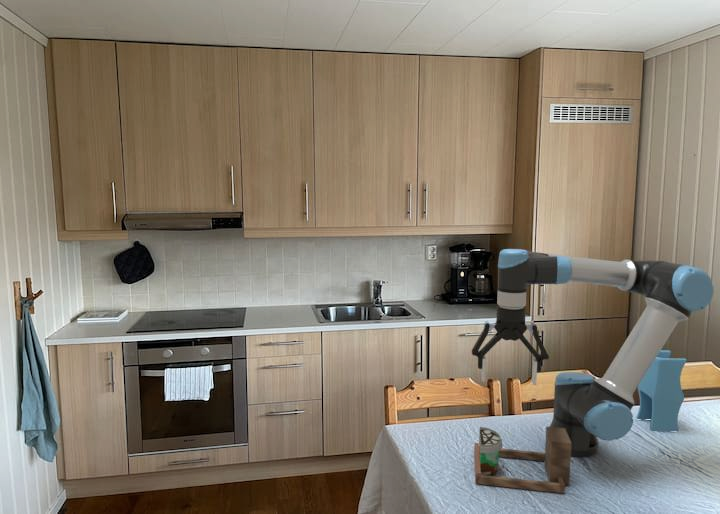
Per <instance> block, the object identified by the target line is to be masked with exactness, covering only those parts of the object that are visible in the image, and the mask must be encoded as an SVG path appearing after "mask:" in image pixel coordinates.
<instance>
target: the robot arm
mask: <svg viewBox="0 0 720 514" xmlns="http://www.w3.org/2000/svg"><path fill="white" fill-rule="evenodd" d="M569 282H570V283H571V282H573V283H581V284H587V285H589V284H590V285H599V286H605V287H607V286H608V287H616V288H617V289H619V291H623V292H629V293H634V294H637V295H641V296H644V301H645V304H646V307H645V309H644V311H643V312H642V314H641V315H640V316H639V318H638V320H637V321H636V323H635V325H634V326H633V328H632V330H631V332H630V333H629V335H628V336H627V338H626V339H625V341H624V343H623V344H622V346H621V347H620V349H619V350H618V352H617V353H616V355H615V357H614V358H613V360H612V361H611V363H610V365H609V367H608V368H607V369H606V372H605V373H604V374H603V376H602V377H600V378H597V377H595V376H594V375H592V374H590V373H587V372H585V373H584V372H576V371H567V372H566V371H565V372H560V373H558V374H557V375H556V376H555V381H554V394H553V395H554V399H553V417H552V419H551V422H550V425H549V427H556V428H565V429H566V432H567V434H568V436H569V438H570V441H571V443H572V446H571V457H577V458H586V457H592V456H594V455H596V454H598V452H599V440H598V439H600V440H603V441H606V442H607V441H608V442H610V441H611V442H612V441H614V440H615V441H616V440H619V439H621V438H623V437H625V436H626V435H627V434H629V432H630V430H631V429H632V427H633V424H634V419H633V416H634V415H633V413H632V411H631V410H632V408H633V407H634V405H635V399H634V397H633V396H634V393H635V392H636V390H638V386H639V384H640V382H641V381H642V379H643V378H644V376H645V374H646V373H647V371H648V370H649V368H650V366H651V365H652V363H653V362H654V360H655V358H656V357H657V355H658V354H659V352H660V350H662V349H663V347H664V346H665V344H666V342H667V341H668V339H669V337H671V334H672V333H673V331H674V329H675V327H677V325H678V323H680V322H684V321H687V320H688V319H689V318H690V316H691V315H692V313H693V312H699V311H700V310H705V308H707V307H708V306H709V304H710V303H711V302H712V299H713V297H714V292H715V291H714V290H715V289H714V285H713V281H712V278H711V277H710V275H709V274H708V272H706V271H705V270H703V269H701V268H699V267H698V268H697V267H696V266H695V267H694V266H693V265H689V264H682V263H681V264H680V263H676V262H669V261H666V260H665V261H664V260H640V259H639V260H638V259H637V260H635V259H634V260H633V259H623V260H621V261H616V260H615V261H614V260H607V259H606V260H605V259H598V258H597V259H595V258H589V257H579V256H573V255H562V254H553V253H544V252H535V251H530V250H528V249H527V250H526V249H521V248H506V249H505V248H504V249H502V250H500V252H499V255H498V264H497V295H496V296H497V298H496V299H497V301H496V303H497V305H498V306H496V319H495V320H496V321H495V322H494V323H491V322H489V321H488V320H487V321H485V322H484V325H483V330H482V331H481V333H480V334H479V336H478V337H477V339H476V342H475V343H474V345H473V347H472V348H471V355H472V356H475V357H477V368H478V369H480V370H481V382H484V383H485V382H486V362H487V361H486V355H487V354H488V352H489V351H490V350H491V349H493V348H494V346H496V344H497V343H498V342H500V341H501V340H503V341H513V342H514V341H518V340H520V341H521V343H522V344H523V345H524V346H525V347H526V348H527V350H528V351H529V352H530V353H531V354H532V356H533V357H534V358H532V366H531V367H532V368H531V369H532V370H531V383H532V385H533V386H537V377H538V376H537V375H538V373H541V370H542V363H543V361H544V360H549V357H550V356H549V354H548V353H547V351H546V348H545V346H544V344H543V342H542V340H541V338H540V335H539V333H538V326H537V325H536V323H531V324H526V313H527V311H526V308H525V307H526V306H527V289H528V288H527V287H528V285H556V286H557V285H562V284H567V283H569ZM492 329H495V331H496V333H495V334H494V335H493V336H492V338H491V339H490V340H489V341H488V342H487V343H486V344H485V345H484V346H483V344H484V341H485V340H486V338H487V336H488V335H489V332H491V331H492ZM527 330H528V331H529V333H530V334H532V336H533V338H534V340H535V342H536V344H537V346H538V349H539V350H540V354H539V352H538V351H537V350H536V349H535V348H534V347H533V345H532V344H531V343H530V342H529V340H528V339H527V338H526V337H525V335H524V334H525V332H526V331H527ZM482 346H483V347H482ZM481 347H482V348H481Z"/></svg>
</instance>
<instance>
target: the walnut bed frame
mask: <svg viewBox="0 0 720 514" xmlns="http://www.w3.org/2000/svg"><path fill="white" fill-rule="evenodd" d="M545 429H546V430H545V431H546V432H545V446H544V447H545V449H544V450H545V451H544V452H541V451H530V450H520V449H509V448H501V449H500V451H499V458H513V459H521V460H530V461H540V462H541V461H542V462H544V469H545V472H546V475H547V478H548V481H543V480H542V481H541V480H534V479H533V480H532V479H523V478H515V477H514V478H513V477H503V476H497V475H496V476H495V475H494V476H488V475H481V470H480V455H479V442H474V447H473V449H474V451H473V454H474V471H475V472H474V474H475V484H476V485H477V484H478V485H484V486H485V485H487V486H495V487H505V488H510V489H511V488H513V489H521V490H529V491H530V490H531V491H538V492H539V491H540V492H549V493H555V494H556V493H558V494H565V493H566V486H570V481H571V480H570V477H571V476H570V475H571V460H572V459H571V458H572V456H571V446H572V443H571V441H570V438H569V436H568V434H567V432H566V429H565V428H556V427H550V426H546V428H545Z"/></svg>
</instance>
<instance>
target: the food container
mask: <svg viewBox="0 0 720 514" xmlns="http://www.w3.org/2000/svg"><path fill="white" fill-rule="evenodd" d="M478 440H479V441H478V443H479V455H480V470H481V475H488V476H495V475H496V474H497V473H498V467H499V459H500V457H499V451H500V449H503V440H502V437H501V435H500V434H499V432H497V431H496V430H494V429H493V428H492V429H491V428H489V427H484V426H479V439H478Z"/></svg>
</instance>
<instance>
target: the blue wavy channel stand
mask: <svg viewBox="0 0 720 514" xmlns="http://www.w3.org/2000/svg"><path fill="white" fill-rule="evenodd" d="M671 353H672V352H671V350H670V349H669V350H668V349H667V350H662V349H661V350H660V352H659V354H658V355H657V357H656V358H655V360H654V362H653V363H652V365H651V366H650V368H649V370H648V371H647V373H646V374H645V376H644V378H643V379H642V381H641V382H640V384H639V386H638V387H637V391H638V395H639V408H638V411H637V415H636V417H635V419H636V418H637V419H651V420H650V424H649V425H650V426H649V431H650V430H651V431H678V432H679V424H678V422H679V421H678V420H679V419H678V418H679V412H680V409H681V407H682V405H683V402H684V400H685V395H684V392H683V388H682V385H681V376H682V372H683V368H684V367H685V364H686V362H687V358H676V357H675V358H674V357H672V358H670V357H671ZM651 431H650V432H651Z"/></svg>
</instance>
